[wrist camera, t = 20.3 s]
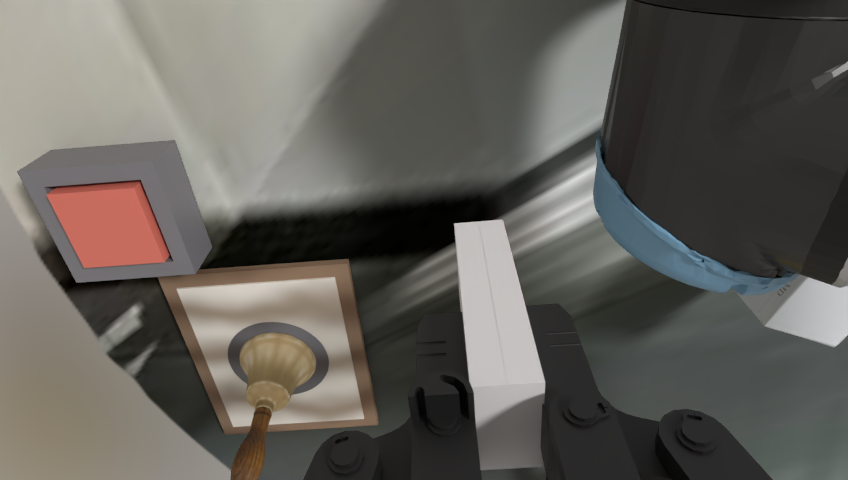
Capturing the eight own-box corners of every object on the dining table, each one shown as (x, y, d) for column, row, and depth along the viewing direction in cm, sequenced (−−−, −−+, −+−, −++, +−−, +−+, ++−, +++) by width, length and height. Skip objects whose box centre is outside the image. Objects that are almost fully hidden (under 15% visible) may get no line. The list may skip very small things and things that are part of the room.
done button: (67, 178, 44) (46, 194, 42) (150, 172, 44) (133, 188, 42) (101, 249, 48) (84, 268, 46) (178, 244, 48) (164, 262, 45)
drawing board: (160, 272, 52) (156, 278, 51) (348, 258, 52) (347, 265, 51) (227, 429, 65) (224, 436, 64) (378, 419, 64) (377, 426, 63)
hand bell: (329, 350, 56) (301, 486, 43) (298, 395, 60) (263, 534, 47) (256, 320, 54) (203, 454, 41) (229, 369, 58) (171, 508, 44)
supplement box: (737, 176, 47) (831, 252, 37) (802, 200, 49) (911, 280, 38) (689, 241, 51) (762, 327, 40) (751, 261, 52) (838, 350, 42)
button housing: (50, 150, 45) (16, 171, 41) (174, 140, 45) (152, 160, 41) (101, 255, 51) (76, 282, 47) (212, 247, 51) (195, 274, 47)
